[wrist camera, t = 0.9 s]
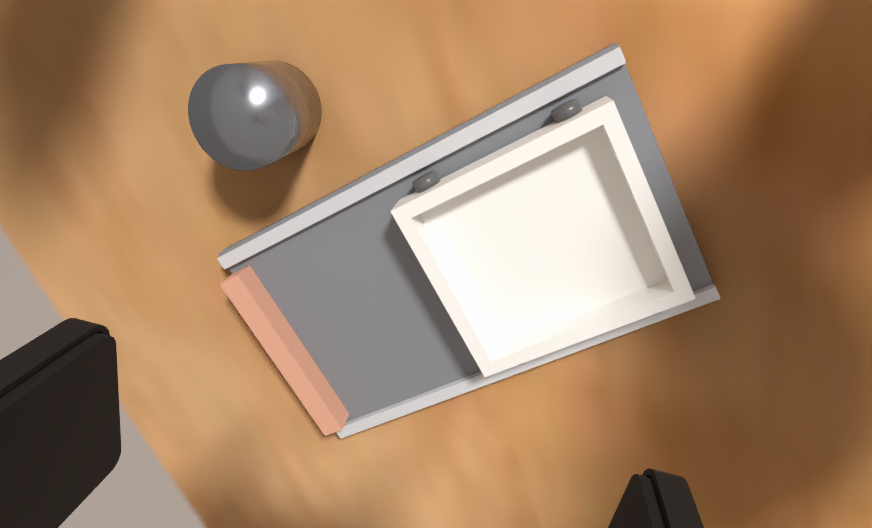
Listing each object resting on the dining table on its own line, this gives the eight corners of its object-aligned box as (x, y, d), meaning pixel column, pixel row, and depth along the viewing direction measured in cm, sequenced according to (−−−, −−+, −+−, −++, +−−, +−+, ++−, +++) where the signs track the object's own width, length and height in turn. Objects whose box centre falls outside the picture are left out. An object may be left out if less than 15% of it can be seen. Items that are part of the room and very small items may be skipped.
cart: (600, 84, 27) (608, 87, 25) (686, 288, 30) (699, 308, 28) (394, 189, 30) (384, 201, 28) (491, 363, 34) (489, 385, 32)
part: (290, 43, 30) (248, 43, 25) (338, 127, 31) (306, 142, 26) (219, 88, 31) (168, 96, 26) (268, 167, 32) (227, 187, 28)
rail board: (613, 42, 27) (622, 42, 25) (713, 291, 31) (729, 311, 29) (226, 248, 35) (204, 263, 32) (347, 427, 39) (336, 453, 36)
